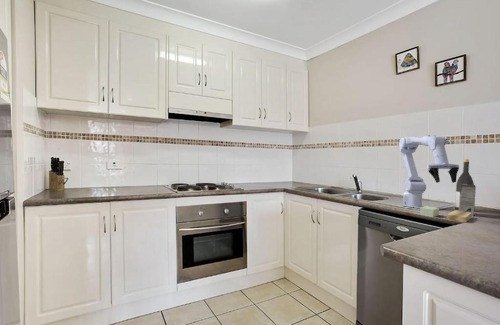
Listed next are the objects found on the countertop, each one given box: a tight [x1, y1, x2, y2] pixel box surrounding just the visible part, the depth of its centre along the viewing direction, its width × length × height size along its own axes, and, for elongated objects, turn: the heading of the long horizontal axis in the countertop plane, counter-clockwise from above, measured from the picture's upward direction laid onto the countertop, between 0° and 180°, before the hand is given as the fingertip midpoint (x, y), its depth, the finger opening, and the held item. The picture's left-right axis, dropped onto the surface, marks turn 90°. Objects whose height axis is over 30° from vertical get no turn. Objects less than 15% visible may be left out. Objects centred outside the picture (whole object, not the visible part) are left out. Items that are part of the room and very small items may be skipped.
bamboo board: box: [446, 209, 473, 223], centre depth 129 cm, size 7×16×2 cm, turn 131°
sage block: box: [419, 205, 440, 218], centre depth 136 cm, size 6×8×4 cm
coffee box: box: [458, 184, 477, 217], centre depth 141 cm, size 9×6×16 cm
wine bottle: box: [454, 158, 475, 211], centre depth 151 cm, size 8×8×30 cm
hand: (446, 182), depth 131 cm, fingers open, 7 cm apart
